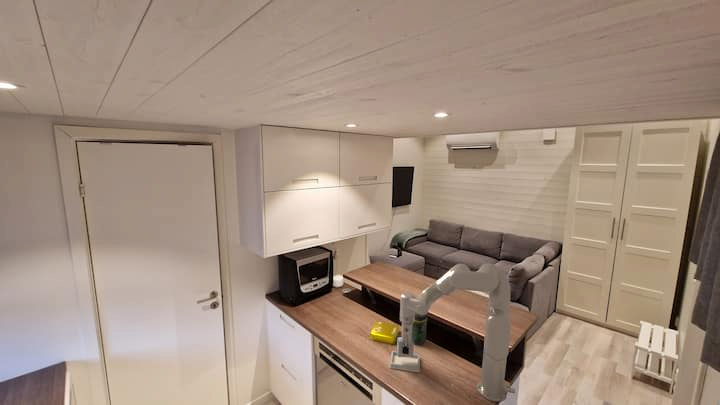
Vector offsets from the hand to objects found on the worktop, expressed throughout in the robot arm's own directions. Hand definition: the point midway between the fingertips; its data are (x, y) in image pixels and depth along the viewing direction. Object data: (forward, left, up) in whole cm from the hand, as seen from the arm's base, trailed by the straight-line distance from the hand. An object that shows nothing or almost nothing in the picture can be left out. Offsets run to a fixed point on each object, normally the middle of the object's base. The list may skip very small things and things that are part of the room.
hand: (405, 349), depth 152 cm
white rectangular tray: (0, 0, -8) cm, 8 cm away
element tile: (+13, -22, -8) cm, 27 cm away
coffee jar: (-7, -21, -8) cm, 23 cm away
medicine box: (0, 0, -3) cm, 3 cm away
